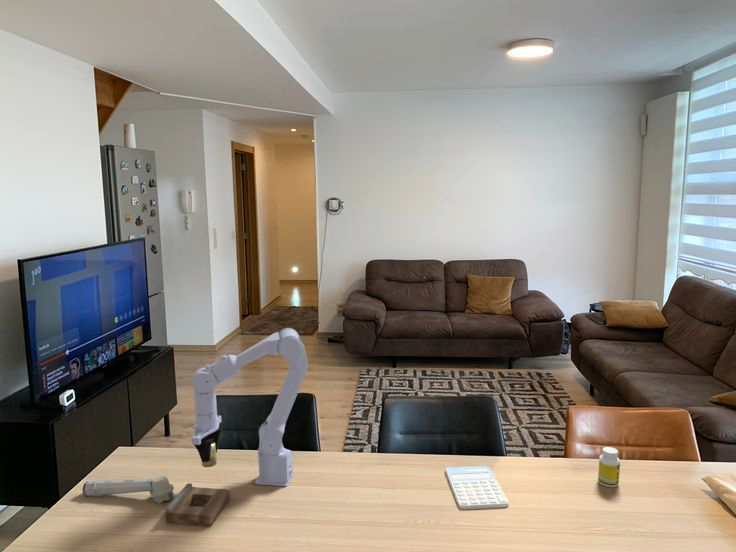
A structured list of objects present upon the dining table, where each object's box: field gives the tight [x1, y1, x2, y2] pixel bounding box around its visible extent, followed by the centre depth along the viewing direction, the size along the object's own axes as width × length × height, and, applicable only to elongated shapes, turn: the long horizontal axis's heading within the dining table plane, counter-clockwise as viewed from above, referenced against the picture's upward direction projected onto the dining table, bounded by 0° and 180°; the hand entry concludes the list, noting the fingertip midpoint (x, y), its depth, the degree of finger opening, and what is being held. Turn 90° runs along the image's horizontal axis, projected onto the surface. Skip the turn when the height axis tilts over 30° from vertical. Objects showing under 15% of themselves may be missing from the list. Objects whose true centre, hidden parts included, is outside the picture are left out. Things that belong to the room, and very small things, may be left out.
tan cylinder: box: [201, 441, 218, 468], centre depth 154 cm, size 4×4×6 cm
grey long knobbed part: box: [81, 475, 175, 504], centre depth 151 cm, size 5×7×25 cm
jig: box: [164, 482, 231, 527], centre depth 144 cm, size 12×12×4 cm
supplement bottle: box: [597, 446, 621, 488], centre depth 154 cm, size 5×5×10 cm
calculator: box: [445, 465, 510, 510], centre depth 153 cm, size 13×20×2 cm, turn 3°
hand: (209, 457), depth 155 cm, fingers closed on tan cylinder, 4 cm apart
